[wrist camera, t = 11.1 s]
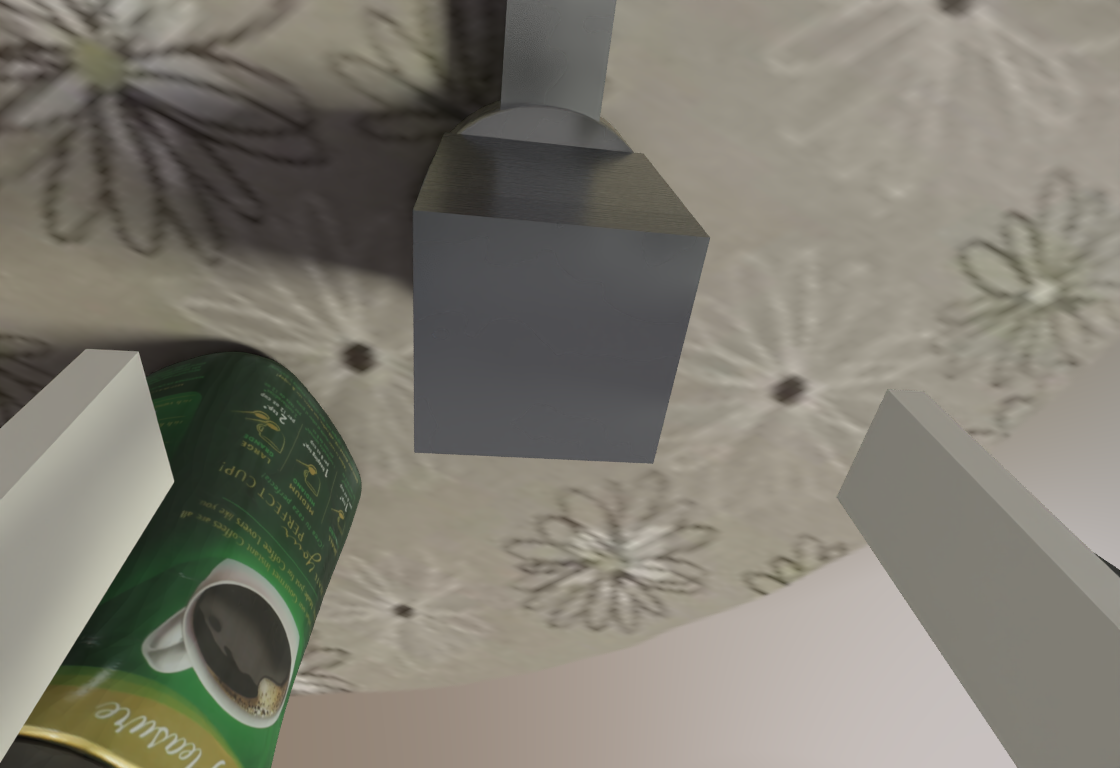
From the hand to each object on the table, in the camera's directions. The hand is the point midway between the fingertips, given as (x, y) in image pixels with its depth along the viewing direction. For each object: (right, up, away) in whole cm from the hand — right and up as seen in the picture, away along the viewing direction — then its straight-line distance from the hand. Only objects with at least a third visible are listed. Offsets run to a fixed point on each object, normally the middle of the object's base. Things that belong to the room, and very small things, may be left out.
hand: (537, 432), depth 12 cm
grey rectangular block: (0, +6, +9) cm, 11 cm away
